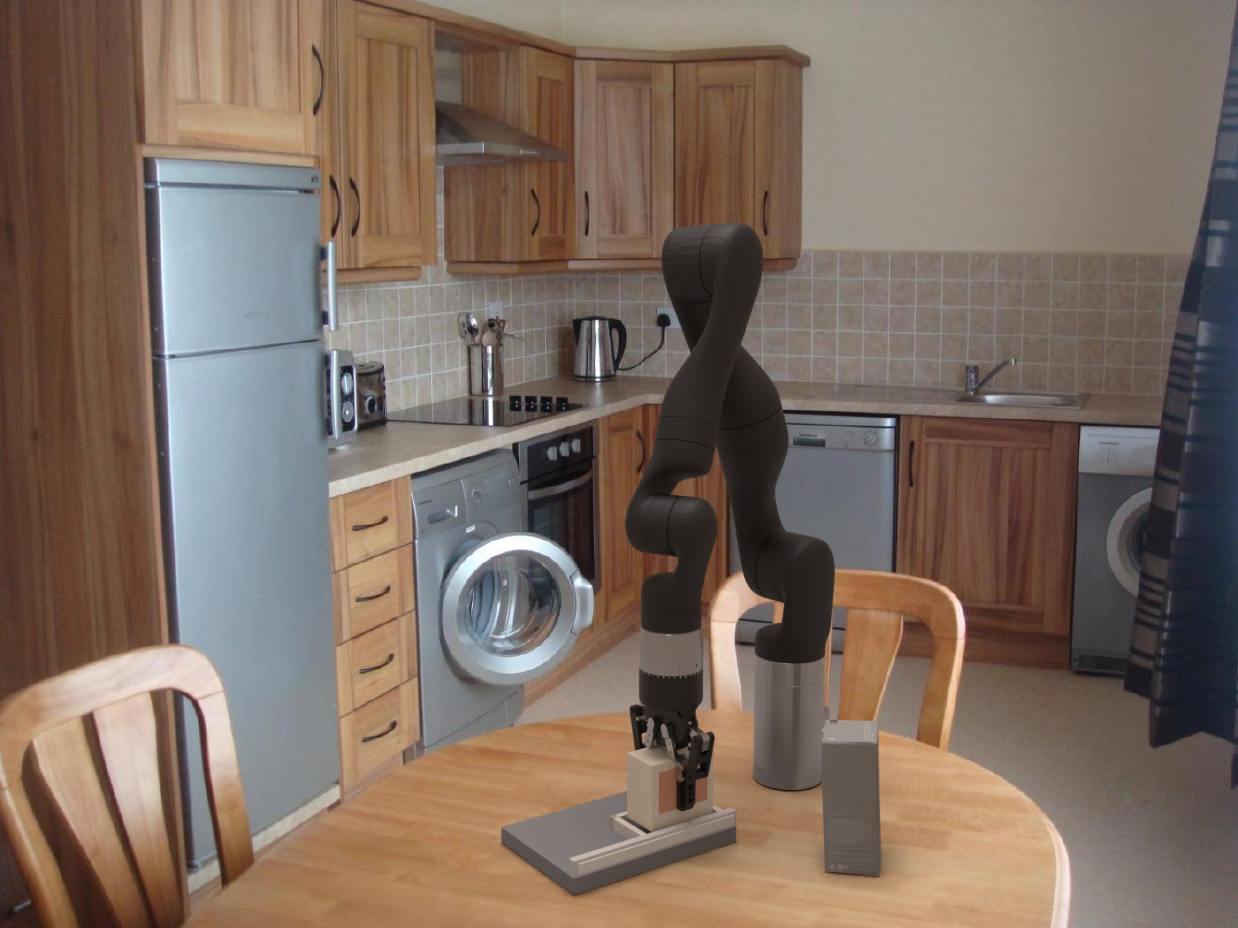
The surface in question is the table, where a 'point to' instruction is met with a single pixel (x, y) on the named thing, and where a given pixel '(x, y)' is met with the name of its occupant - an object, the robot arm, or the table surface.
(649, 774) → the cream box
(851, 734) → the skincare box
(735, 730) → the table surface
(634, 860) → the shelf deck
